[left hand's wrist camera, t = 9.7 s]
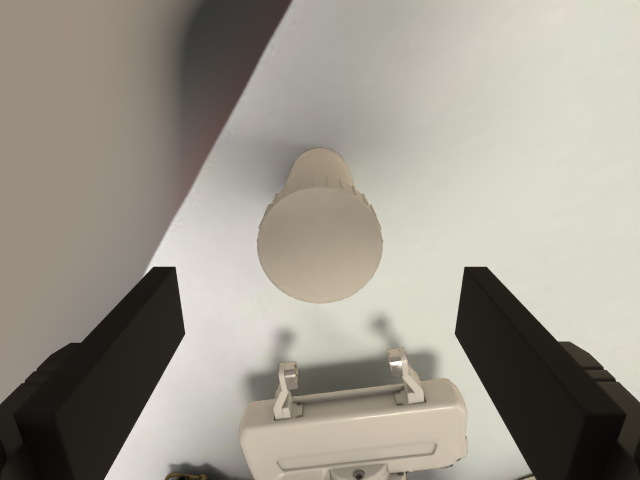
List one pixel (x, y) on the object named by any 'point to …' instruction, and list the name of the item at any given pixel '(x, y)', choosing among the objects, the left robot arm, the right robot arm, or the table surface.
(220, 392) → the table surface
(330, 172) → the jar
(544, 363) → the left robot arm
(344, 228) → the lid
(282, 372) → the right robot arm
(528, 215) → the table surface
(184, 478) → the spray gun
